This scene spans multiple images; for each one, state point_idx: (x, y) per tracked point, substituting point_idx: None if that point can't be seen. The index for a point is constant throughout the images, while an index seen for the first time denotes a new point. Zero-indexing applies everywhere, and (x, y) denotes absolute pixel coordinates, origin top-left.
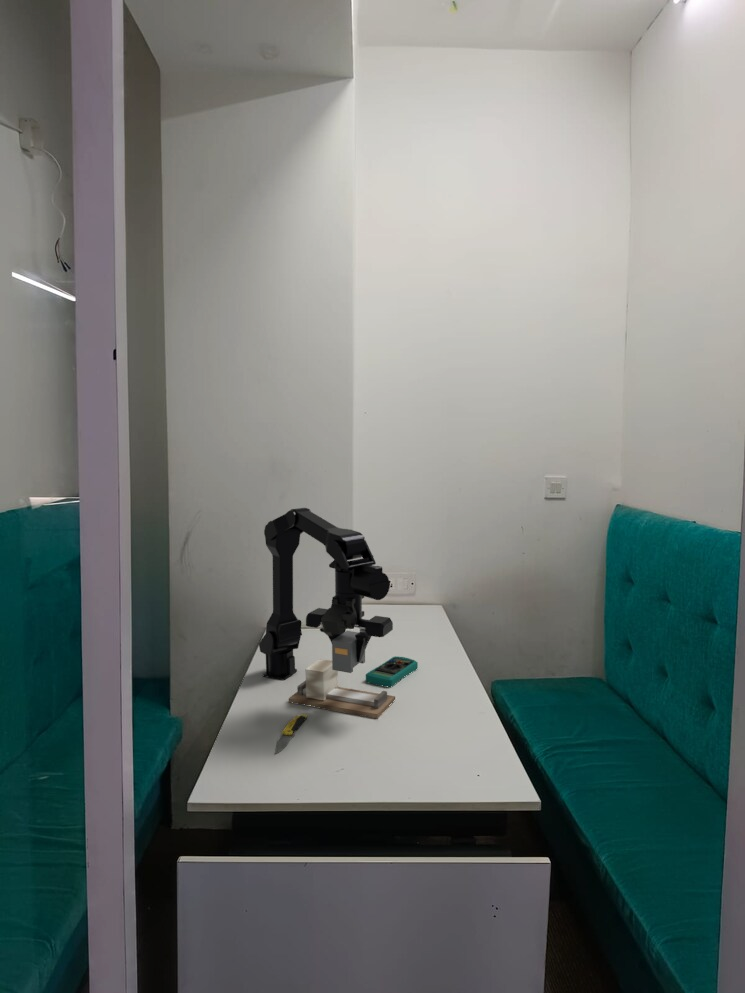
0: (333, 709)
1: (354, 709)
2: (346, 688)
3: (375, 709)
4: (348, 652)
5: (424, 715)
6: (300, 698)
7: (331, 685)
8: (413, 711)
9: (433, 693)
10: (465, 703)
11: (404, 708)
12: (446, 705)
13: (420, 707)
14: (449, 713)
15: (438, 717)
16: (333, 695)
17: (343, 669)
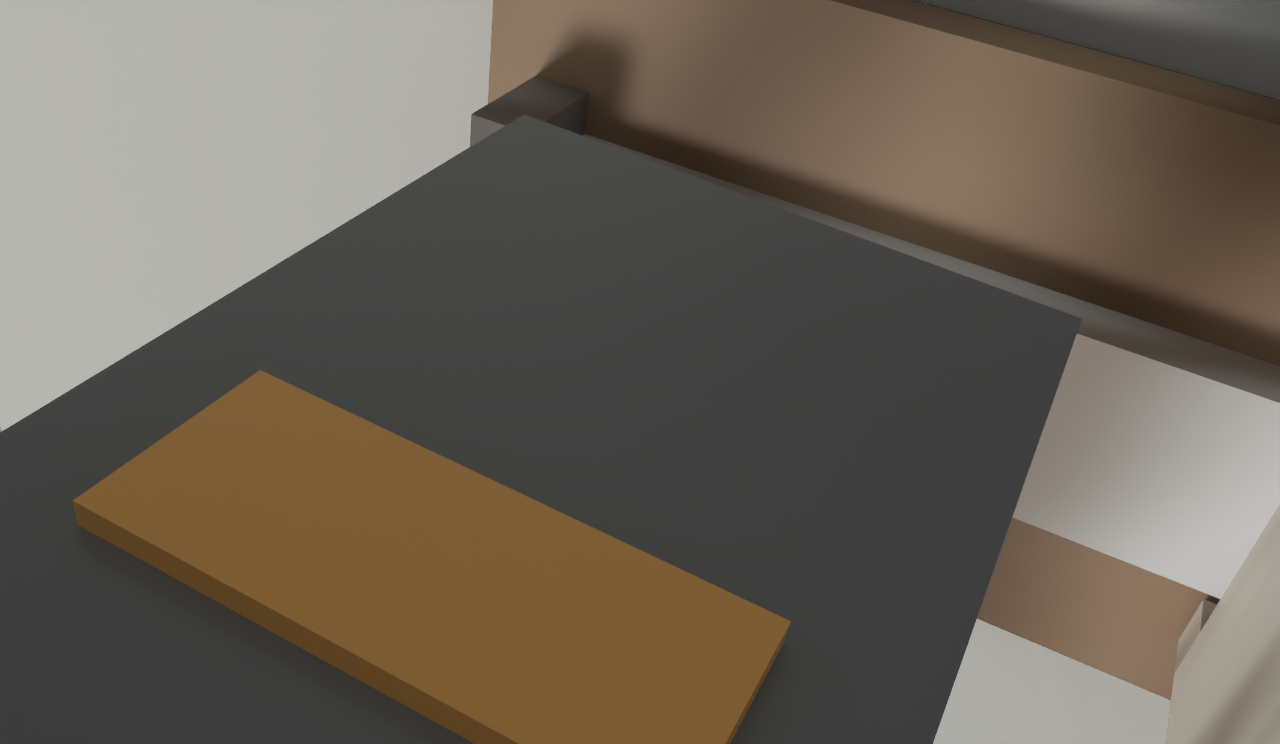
0: (1196, 86)
1: (829, 18)
2: (1060, 647)
3: (561, 49)
4: (145, 432)
5: (158, 59)
6: None
7: (1260, 583)
8: (270, 141)
9: None
10: (14, 314)
11: (364, 205)
12: (101, 278)
13: (251, 233)
14: (20, 123)
15: (50, 29)
16: (1212, 377)
17: (698, 213)
